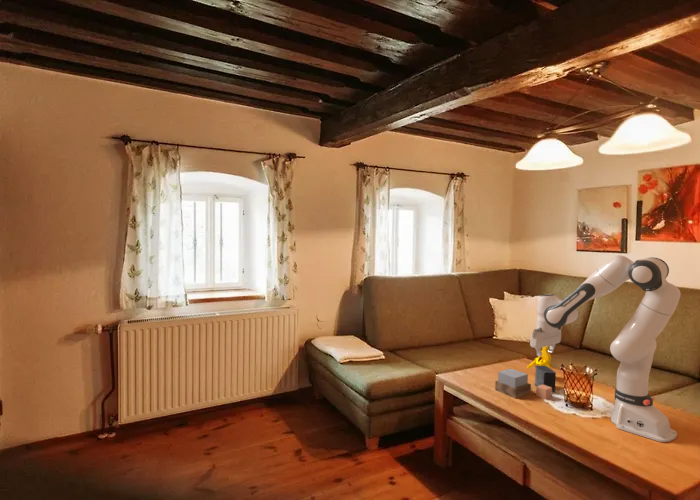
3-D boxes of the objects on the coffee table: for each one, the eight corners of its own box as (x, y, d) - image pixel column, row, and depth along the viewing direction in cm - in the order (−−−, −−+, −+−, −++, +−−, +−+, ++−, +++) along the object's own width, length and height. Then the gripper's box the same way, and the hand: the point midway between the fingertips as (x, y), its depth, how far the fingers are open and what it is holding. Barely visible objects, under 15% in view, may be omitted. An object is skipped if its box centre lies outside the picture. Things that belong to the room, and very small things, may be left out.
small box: (556, 392, 205) (556, 372, 205) (543, 392, 206) (543, 372, 205) (546, 384, 216) (547, 365, 215) (534, 384, 216) (534, 365, 215)
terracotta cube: (551, 397, 200) (552, 387, 199) (545, 399, 197) (545, 389, 197) (542, 393, 204) (542, 384, 204) (536, 396, 201) (536, 386, 201)
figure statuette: (524, 373, 232) (524, 335, 231) (532, 371, 236) (533, 334, 234) (552, 384, 216) (553, 343, 215) (561, 381, 220) (562, 341, 219)
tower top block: (527, 383, 205) (527, 374, 204) (514, 387, 200) (515, 378, 199) (510, 377, 213) (510, 368, 213) (498, 381, 208) (498, 371, 208)
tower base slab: (530, 393, 205) (530, 384, 204) (515, 399, 198) (515, 389, 198) (510, 386, 215) (510, 376, 214) (495, 390, 208) (495, 381, 208)
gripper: (539, 330, 190) (538, 359, 191) (564, 325, 201) (563, 352, 202) (527, 327, 196) (526, 355, 197) (552, 322, 206) (551, 349, 207)
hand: (545, 354), depth 199 cm, fingers open, 8 cm apart
